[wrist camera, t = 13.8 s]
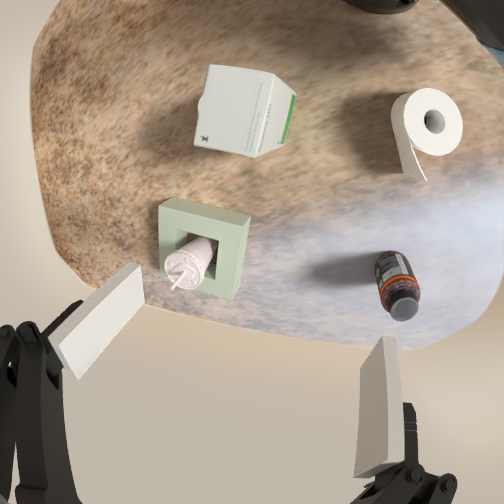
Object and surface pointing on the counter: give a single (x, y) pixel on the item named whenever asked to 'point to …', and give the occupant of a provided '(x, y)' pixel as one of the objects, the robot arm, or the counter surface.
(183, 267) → the smoothie
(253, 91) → the skincare box
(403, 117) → the toilet paper
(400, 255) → the supplement bottle
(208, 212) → the block
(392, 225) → the counter surface
